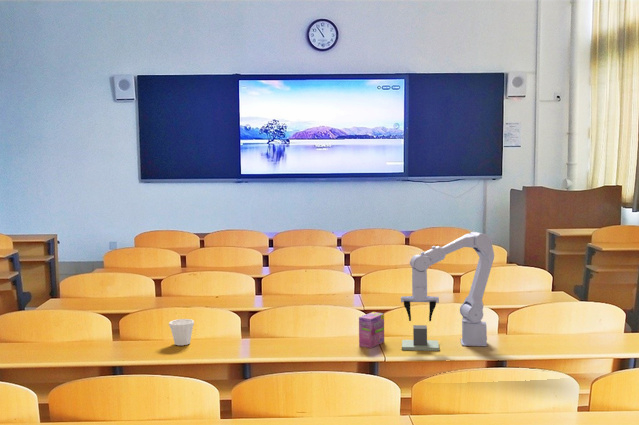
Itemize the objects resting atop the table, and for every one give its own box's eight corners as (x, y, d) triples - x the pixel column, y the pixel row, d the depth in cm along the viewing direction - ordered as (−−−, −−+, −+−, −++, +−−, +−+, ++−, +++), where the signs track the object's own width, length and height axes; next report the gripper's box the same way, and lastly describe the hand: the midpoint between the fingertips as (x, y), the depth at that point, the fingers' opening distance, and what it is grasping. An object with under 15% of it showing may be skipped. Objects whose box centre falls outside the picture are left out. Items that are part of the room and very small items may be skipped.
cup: (197, 340, 260) (197, 318, 260) (190, 347, 250) (189, 325, 250) (174, 340, 261) (173, 318, 261) (166, 347, 251) (165, 324, 251)
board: (438, 343, 248) (438, 340, 248) (438, 350, 239) (438, 347, 238) (402, 342, 251) (402, 339, 251) (401, 350, 241) (401, 346, 241)
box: (371, 348, 244) (370, 318, 243) (358, 346, 247) (358, 316, 246) (385, 342, 252) (384, 313, 251) (372, 340, 255) (372, 311, 255)
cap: (426, 341, 247) (426, 325, 246) (427, 345, 242) (426, 328, 241) (413, 341, 248) (413, 325, 247) (413, 345, 242) (413, 328, 242)
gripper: (438, 284, 246) (438, 318, 247) (401, 283, 248) (401, 317, 249) (438, 287, 239) (439, 322, 240) (400, 287, 241) (401, 322, 242)
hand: (420, 320), depth 244 cm, fingers open, 7 cm apart
